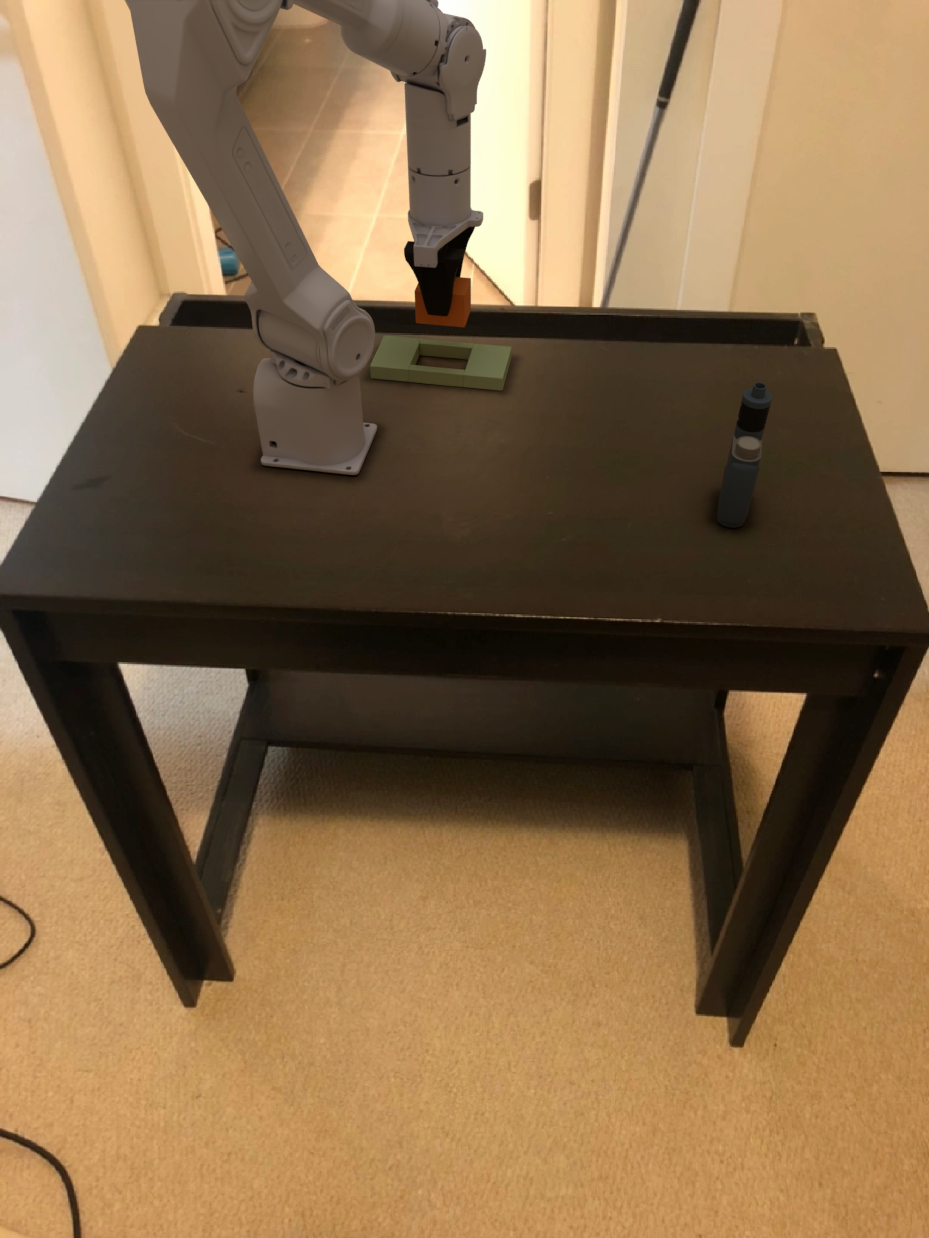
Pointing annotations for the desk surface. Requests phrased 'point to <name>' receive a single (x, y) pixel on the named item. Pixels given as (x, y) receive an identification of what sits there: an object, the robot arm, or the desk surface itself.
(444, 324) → the orange rectangular block
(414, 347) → the base pad
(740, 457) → the vaping device
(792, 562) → the desk surface
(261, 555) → the desk surface
